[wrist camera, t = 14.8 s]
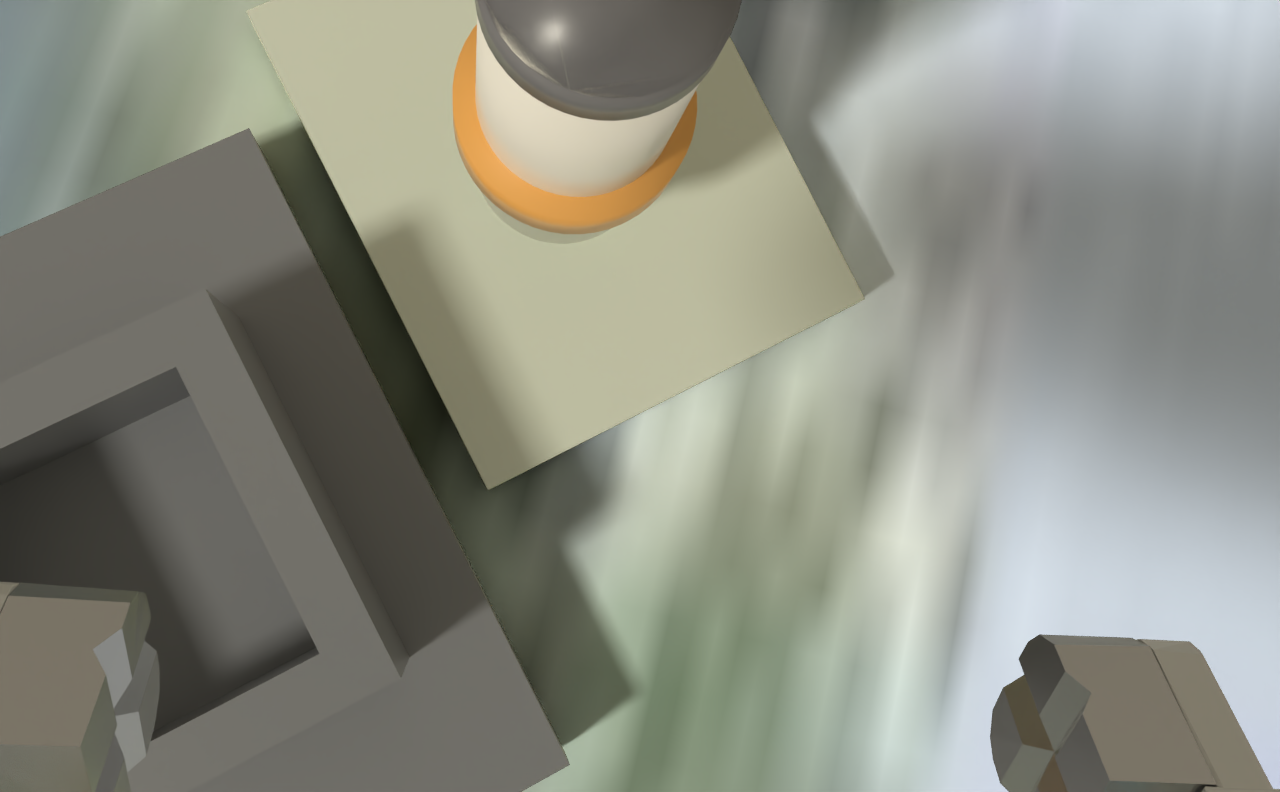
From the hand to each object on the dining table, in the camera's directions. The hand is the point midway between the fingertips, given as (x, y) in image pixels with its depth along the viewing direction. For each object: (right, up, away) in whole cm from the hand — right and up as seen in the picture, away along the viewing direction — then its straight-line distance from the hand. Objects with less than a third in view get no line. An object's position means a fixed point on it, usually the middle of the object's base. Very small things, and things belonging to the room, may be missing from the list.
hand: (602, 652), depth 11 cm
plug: (-1, +7, +14) cm, 16 cm away
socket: (-9, -1, +13) cm, 16 cm away
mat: (-1, +7, +15) cm, 17 cm away
